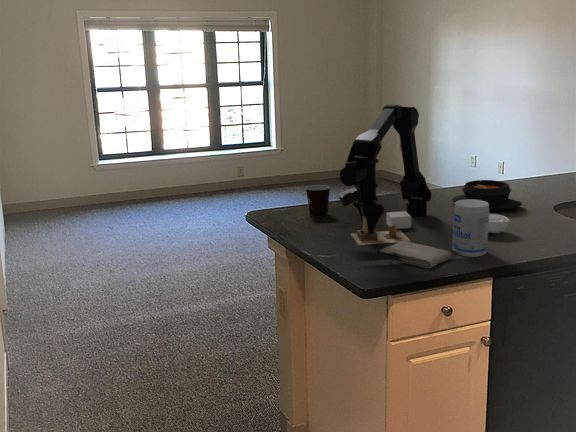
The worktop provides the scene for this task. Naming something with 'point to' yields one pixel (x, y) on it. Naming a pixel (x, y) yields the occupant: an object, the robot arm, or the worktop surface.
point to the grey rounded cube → (399, 219)
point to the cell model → (497, 223)
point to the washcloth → (417, 254)
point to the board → (380, 236)
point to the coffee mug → (318, 199)
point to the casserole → (489, 194)
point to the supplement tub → (470, 227)
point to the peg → (365, 226)
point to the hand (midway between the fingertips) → (367, 229)
